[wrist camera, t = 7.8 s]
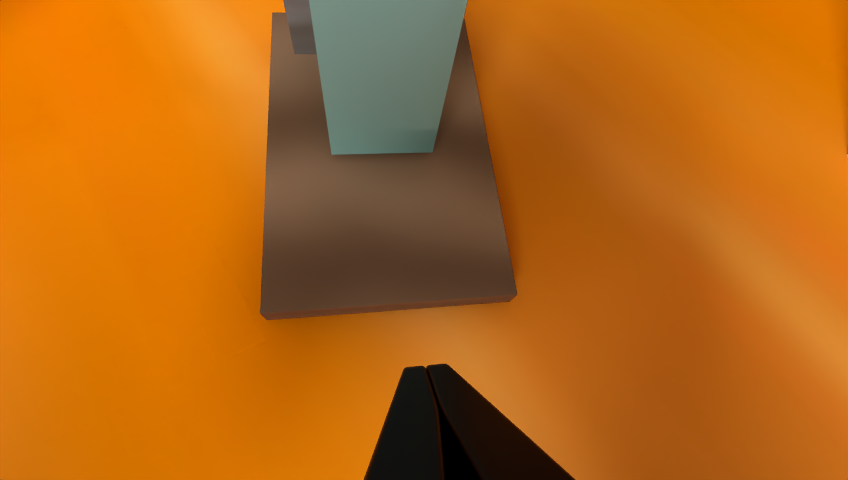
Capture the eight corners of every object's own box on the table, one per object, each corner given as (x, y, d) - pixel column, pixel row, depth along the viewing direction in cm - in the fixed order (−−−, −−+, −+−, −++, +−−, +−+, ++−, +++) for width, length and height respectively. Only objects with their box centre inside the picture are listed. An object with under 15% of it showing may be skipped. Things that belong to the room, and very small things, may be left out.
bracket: (509, 301, 17) (550, 266, 13) (267, 320, 15) (232, 287, 11) (460, 34, 22) (478, -47, 18) (276, 30, 20) (255, -57, 17)
